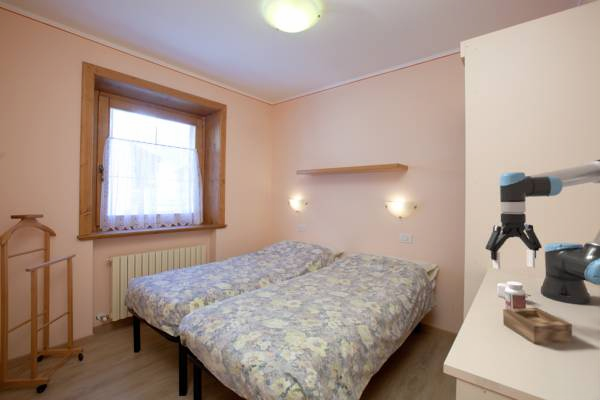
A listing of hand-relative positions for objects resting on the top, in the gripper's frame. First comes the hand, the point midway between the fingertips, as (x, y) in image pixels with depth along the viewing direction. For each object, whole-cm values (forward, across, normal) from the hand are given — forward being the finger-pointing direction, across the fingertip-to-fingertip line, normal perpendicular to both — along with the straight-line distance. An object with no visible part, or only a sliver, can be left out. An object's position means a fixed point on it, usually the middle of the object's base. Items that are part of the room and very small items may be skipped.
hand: (513, 267), depth 103 cm
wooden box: (+17, +6, +15) cm, 23 cm away
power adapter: (+17, -8, -10) cm, 22 cm away
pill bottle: (+17, 0, 0) cm, 17 cm away
